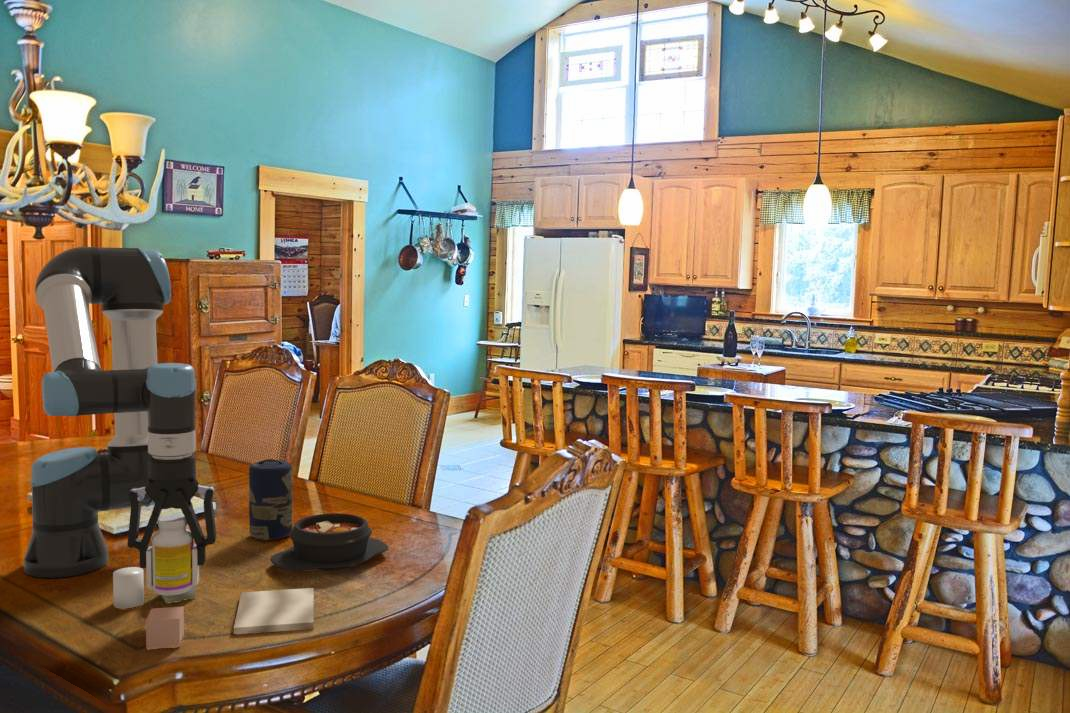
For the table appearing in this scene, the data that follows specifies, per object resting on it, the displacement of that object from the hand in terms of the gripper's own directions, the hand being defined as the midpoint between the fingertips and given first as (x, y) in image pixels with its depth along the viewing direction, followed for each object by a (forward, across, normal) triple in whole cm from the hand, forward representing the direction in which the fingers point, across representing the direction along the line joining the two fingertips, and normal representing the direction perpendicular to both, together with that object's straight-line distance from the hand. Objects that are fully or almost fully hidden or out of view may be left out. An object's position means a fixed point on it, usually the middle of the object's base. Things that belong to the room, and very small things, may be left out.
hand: (173, 583), depth 149 cm
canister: (+7, +14, +44) cm, 47 cm away
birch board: (+6, +17, -1) cm, 18 cm away
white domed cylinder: (+7, -9, +8) cm, 14 cm away
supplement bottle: (+1, 0, 0) cm, 1 cm away
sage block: (+7, -1, +10) cm, 12 cm away
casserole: (+7, +27, +25) cm, 38 cm away
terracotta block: (+6, 0, -10) cm, 11 cm away
